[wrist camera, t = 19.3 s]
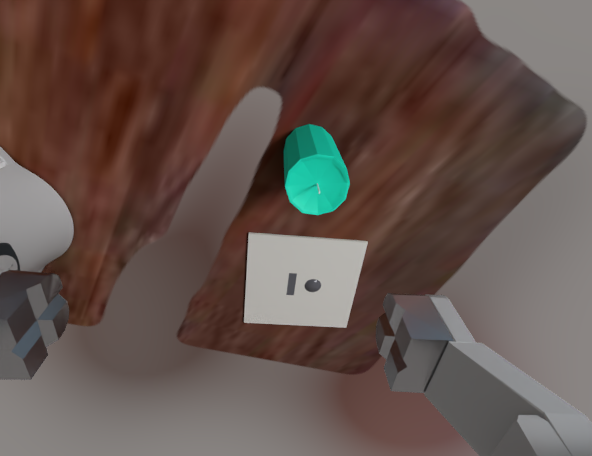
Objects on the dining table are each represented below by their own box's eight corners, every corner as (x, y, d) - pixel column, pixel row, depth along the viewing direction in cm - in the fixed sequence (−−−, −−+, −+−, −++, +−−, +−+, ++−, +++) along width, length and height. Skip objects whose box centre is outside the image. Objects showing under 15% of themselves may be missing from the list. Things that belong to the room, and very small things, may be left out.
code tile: (244, 321, 54) (243, 322, 54) (248, 232, 46) (248, 233, 46) (345, 326, 56) (346, 327, 56) (367, 241, 48) (367, 242, 48)
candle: (318, 182, 43) (331, 232, 33) (274, 160, 42) (273, 206, 31) (344, 139, 41) (366, 178, 30) (298, 114, 39) (305, 147, 29)
